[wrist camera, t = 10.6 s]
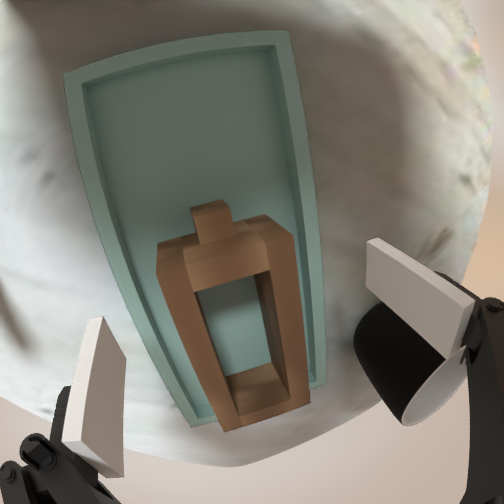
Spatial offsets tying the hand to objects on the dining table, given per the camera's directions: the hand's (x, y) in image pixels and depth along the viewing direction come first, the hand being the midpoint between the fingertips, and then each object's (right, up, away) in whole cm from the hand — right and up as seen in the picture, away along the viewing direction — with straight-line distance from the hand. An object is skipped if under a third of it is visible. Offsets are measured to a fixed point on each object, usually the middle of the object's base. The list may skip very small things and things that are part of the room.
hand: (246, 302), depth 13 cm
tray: (-2, +2, +7) cm, 7 cm away
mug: (+14, -4, +14) cm, 20 cm away
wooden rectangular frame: (-1, -2, +8) cm, 8 cm away
